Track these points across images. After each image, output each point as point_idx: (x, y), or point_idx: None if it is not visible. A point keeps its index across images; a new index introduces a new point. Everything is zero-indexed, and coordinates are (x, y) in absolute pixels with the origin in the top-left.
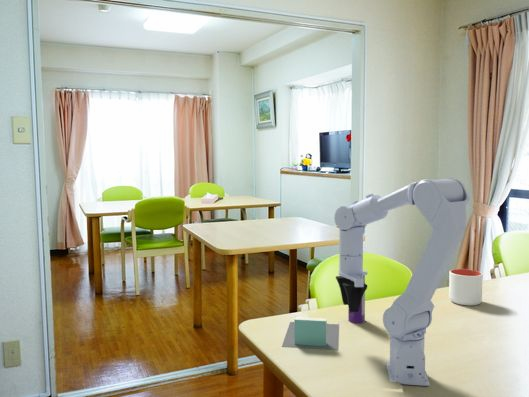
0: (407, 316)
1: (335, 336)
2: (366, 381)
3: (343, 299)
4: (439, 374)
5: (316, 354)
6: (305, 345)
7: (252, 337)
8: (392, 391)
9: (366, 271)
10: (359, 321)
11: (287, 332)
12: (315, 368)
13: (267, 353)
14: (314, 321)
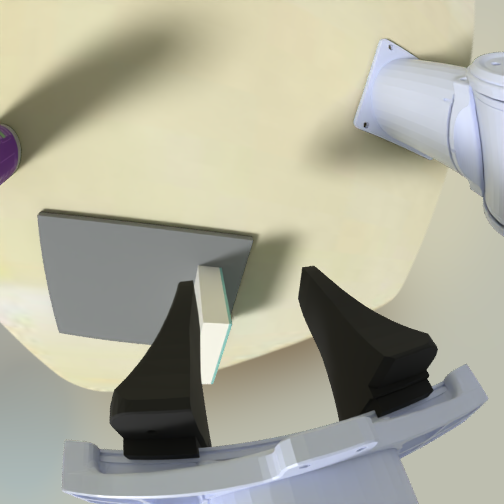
0: None
1: (142, 236)
2: (405, 202)
3: (199, 335)
4: (415, 25)
5: (256, 286)
6: None
7: None
8: (446, 166)
9: (354, 450)
10: (13, 146)
11: (130, 341)
12: None
13: (239, 361)
14: (223, 348)
